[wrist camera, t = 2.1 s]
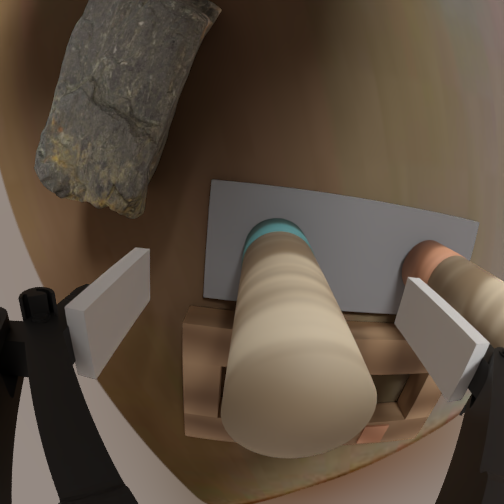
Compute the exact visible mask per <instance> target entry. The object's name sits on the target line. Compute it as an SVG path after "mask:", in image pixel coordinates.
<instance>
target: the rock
mask: <svg viewBox="0 0 504 504" xmlns="http://www.w3.org/2000/svg"><path fill="white" fill-rule="evenodd" d="M221 11H222V10H221V8H219V7H218V6H217V5H215V4H214V3H213V2H211V1H208V0H89V1H88V3H87V5H86V8H85V10H84V13H83V15H82V16H81V18H80V19H79V20H78V22H77V23H76V25H75V27H74V29H73V31H72V34H71V37H70V39H69V42H68V45H67V48H66V53H65V56H64V59H63V62H62V66H61V72H60V76H59V80H58V83H57V86H56V89H55V94H54V100H53V104H52V107H51V111H50V114H49V117H48V120H47V123H46V126H45V128H44V130H43V131H42V133H41V138H40V142H39V145H38V148H37V151H36V159H35V167H34V169H35V171H36V174H37V175H38V177H39V179H40V181H41V182H42V184H43V185H44V186H45V187H46V188H47V189H48V190H50V191H51V192H53V193H55V194H56V195H57V196H58V197H60V198H67V199H71V200H77V201H80V202H84V201H87V202H89V203H91V204H92V205H93V206H94V207H96V208H98V209H101V208H104V207H106V206H109V207H110V210H113V211H116V212H117V213H118V214H120V215H125V216H126V217H127V218H131V219H134V218H137V217H139V216H141V215H142V214H143V213H144V210H145V205H146V194H147V186H148V184H149V182H150V180H151V178H152V175H153V174H154V172H155V171H156V168H157V165H158V163H159V160H160V157H161V154H162V151H163V149H164V146H165V143H166V140H167V137H168V131H169V128H170V125H171V122H172V119H173V117H174V114H175V110H176V106H177V103H178V100H179V96H180V94H181V92H182V89H183V86H184V84H185V82H186V79H187V77H188V75H189V72H190V68H191V66H192V63H193V61H194V58H195V56H196V53H197V51H198V49H199V47H200V45H201V42H202V40H203V38H204V36H205V35H206V34H207V33H208V31H209V30H210V28H211V27H212V25H213V24H214V22H215V20H216V19H217V17H218V15H219V14H220V12H221Z"/></svg>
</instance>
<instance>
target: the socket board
mask: <svg viewBox="0 0 504 504" xmlns="http://www.w3.org/2000/svg"><path fill="white" fill-rule="evenodd" d="M234 316H235V311H231V310H223V309H214V308H206V307H198V306H191V305H190V307H189V309H188V311H187V314H186V316H185V318H184V321H183V325H182V347H183V398H184V422H185V436H190V437H197V438H204V439H211V440H219V441H227V442H236V441H234V440H233V439H232V438H231V436H230V435H229V434H228V433H227V431H226V430H225V428H224V426H223V423H222V419H221V405H222V397H220V395H221V381H222V368H223V367H227V364H228V357H229V350H230V343H231V337H232V330H233V323H234ZM346 322H347V324H348V327H349V329H350V331H351V333H352V335H353V337H354V340H355V342H356V344H357V346H358V348H359V351H360V353H361V355H362V357H363V360H364V362H365V364H366V366H367V369H368V371H369V373H370V375H393V374H410V376H409V378H408V380H407V382H406V385H405V387H404V389H403V391H402V393H401V395H400V397H399V399H398V401H397V402H390V403H377V404H376V408H375V411H374V413H373V416H372V417H371V419H370V421H369V422H368V424H367V425H366V426H365V427H364V428H363V429H362V430H361V431H360V432H359V433H358V434H357V435H356V436H355V437H354V438H352V439H351V440H349V441H348V442H346V443H345V444H343V445H356V444H369V443H380V442H389V441H398V440H405V439H412V438H415V437H416V436H417V434H418V433H419V431H420V429H421V428H422V426H423V425H424V423H425V421H426V420H427V418H428V417H429V415H430V413H431V411H432V410H433V408H434V406H435V405H436V403H437V401H438V399H439V398H440V396H441V394H442V393H441V391H440V390H439V388H438V386H437V385H436V383H435V382H434V380H433V379H432V377H431V376H430V374H429V373H428V371H427V370H426V368H425V367H424V365H423V364H422V362H421V361H420V360H419V358H418V357H417V355H416V354H415V352H414V351H413V349H412V348H411V346H410V345H409V344H408V342H407V341H406V339H405V338H404V336H403V335H402V334H401V332H400V331H399V329H398V328H397V327H396V325H395V324H394V323H379V322H359V321H346Z"/></svg>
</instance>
